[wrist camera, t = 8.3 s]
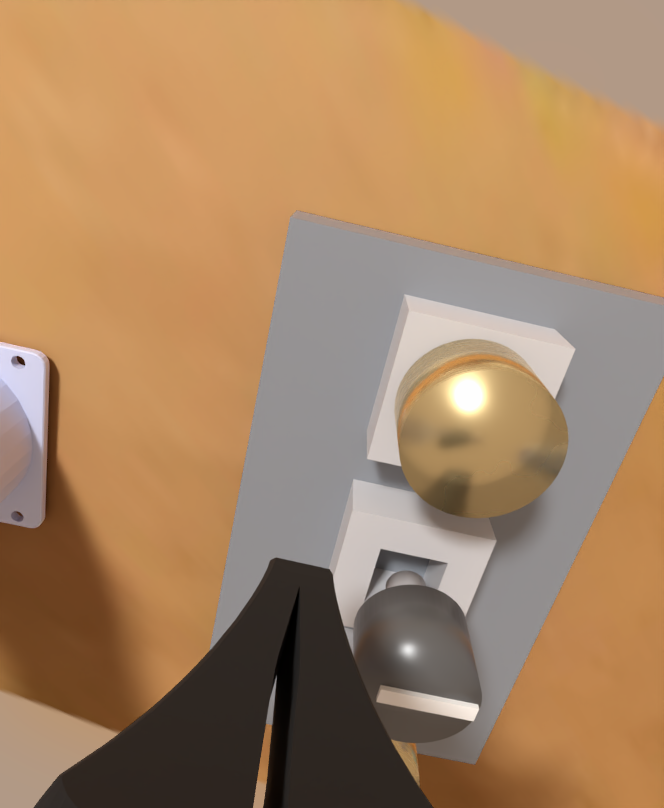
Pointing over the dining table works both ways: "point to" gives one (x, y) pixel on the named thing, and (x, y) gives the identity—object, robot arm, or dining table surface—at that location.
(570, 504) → the mount
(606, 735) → the dining table surface
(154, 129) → the dining table surface
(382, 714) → the pot knob
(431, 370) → the knob
